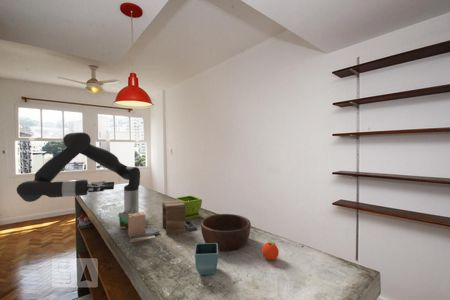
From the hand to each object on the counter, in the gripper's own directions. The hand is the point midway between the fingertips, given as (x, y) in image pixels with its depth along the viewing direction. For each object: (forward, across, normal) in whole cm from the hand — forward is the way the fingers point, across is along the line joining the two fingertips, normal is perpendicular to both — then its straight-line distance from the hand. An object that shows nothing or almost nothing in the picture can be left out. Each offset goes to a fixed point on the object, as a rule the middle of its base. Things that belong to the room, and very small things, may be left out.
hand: (114, 185), depth 108 cm
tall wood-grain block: (+14, 0, +28) cm, 31 cm away
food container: (+8, +15, +28) cm, 33 cm away
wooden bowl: (+50, -27, +28) cm, 64 cm away
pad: (+13, 0, +28) cm, 31 cm away
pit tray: (+40, 0, +28) cm, 48 cm away
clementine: (+60, -50, +28) cm, 83 cm away
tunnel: (+30, 0, +28) cm, 41 cm away
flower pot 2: (+32, -46, +28) cm, 63 cm away
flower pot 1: (+44, +17, +28) cm, 55 cm away
